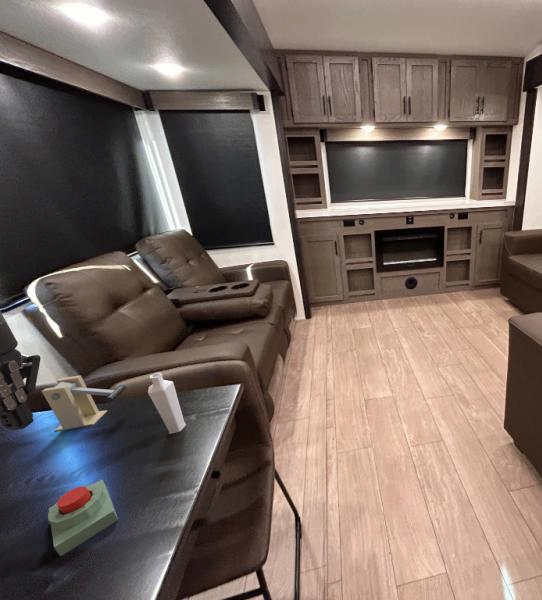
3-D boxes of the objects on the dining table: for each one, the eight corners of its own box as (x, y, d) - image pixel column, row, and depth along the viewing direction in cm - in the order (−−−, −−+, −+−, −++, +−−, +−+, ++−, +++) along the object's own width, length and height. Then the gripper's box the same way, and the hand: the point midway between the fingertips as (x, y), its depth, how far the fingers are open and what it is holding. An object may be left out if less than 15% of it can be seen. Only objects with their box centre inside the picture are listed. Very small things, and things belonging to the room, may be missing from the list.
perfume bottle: (175, 424, 74) (152, 369, 69) (193, 423, 74) (172, 368, 69) (160, 439, 70) (135, 382, 65) (179, 438, 70) (156, 381, 65)
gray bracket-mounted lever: (126, 391, 79) (125, 383, 78) (112, 404, 74) (112, 395, 73) (67, 386, 76) (66, 378, 75) (49, 400, 71) (48, 391, 70)
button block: (54, 517, 54) (43, 500, 53) (106, 487, 59) (98, 471, 58) (60, 556, 48) (48, 539, 47) (118, 519, 53) (109, 503, 52)
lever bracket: (110, 412, 80) (90, 372, 76) (93, 429, 75) (71, 387, 71) (74, 418, 79) (52, 378, 75) (54, 435, 74) (30, 393, 69)
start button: (60, 505, 52) (55, 498, 52) (89, 489, 55) (85, 482, 54) (63, 518, 50) (57, 511, 49) (93, 501, 53) (88, 494, 52)
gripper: (-19, 311, 49) (33, 402, 55) (-138, 354, 37) (-55, 465, 43) (36, 306, 50) (81, 396, 56) (-62, 346, 38) (9, 455, 44)
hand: (22, 426), depth 50 cm, fingers closed
